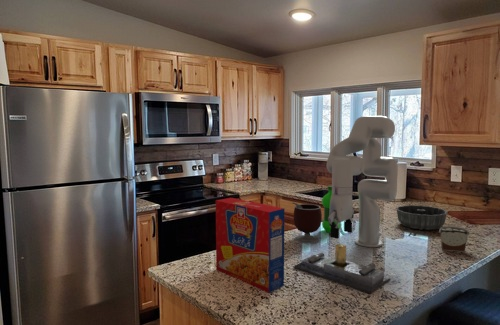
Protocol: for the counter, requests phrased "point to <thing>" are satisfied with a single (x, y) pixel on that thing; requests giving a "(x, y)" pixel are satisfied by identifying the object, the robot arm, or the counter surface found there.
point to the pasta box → (250, 242)
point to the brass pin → (340, 255)
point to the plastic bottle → (327, 210)
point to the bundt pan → (421, 217)
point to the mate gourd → (307, 222)
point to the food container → (453, 238)
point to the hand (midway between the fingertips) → (341, 234)
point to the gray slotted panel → (345, 273)
